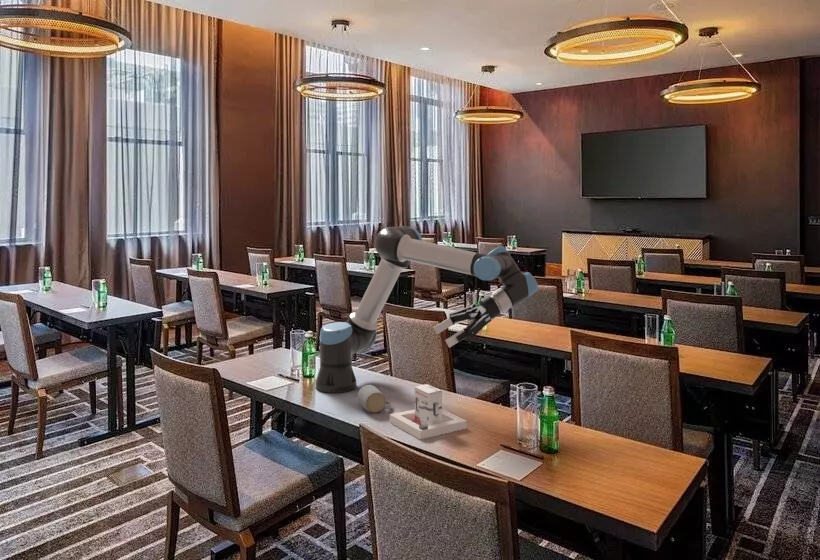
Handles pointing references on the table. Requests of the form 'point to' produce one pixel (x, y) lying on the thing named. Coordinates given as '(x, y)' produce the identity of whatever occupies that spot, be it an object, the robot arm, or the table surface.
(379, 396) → the ceramic mug
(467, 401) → the table surface
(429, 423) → the ink box
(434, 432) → the socket plate
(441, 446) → the table surface
